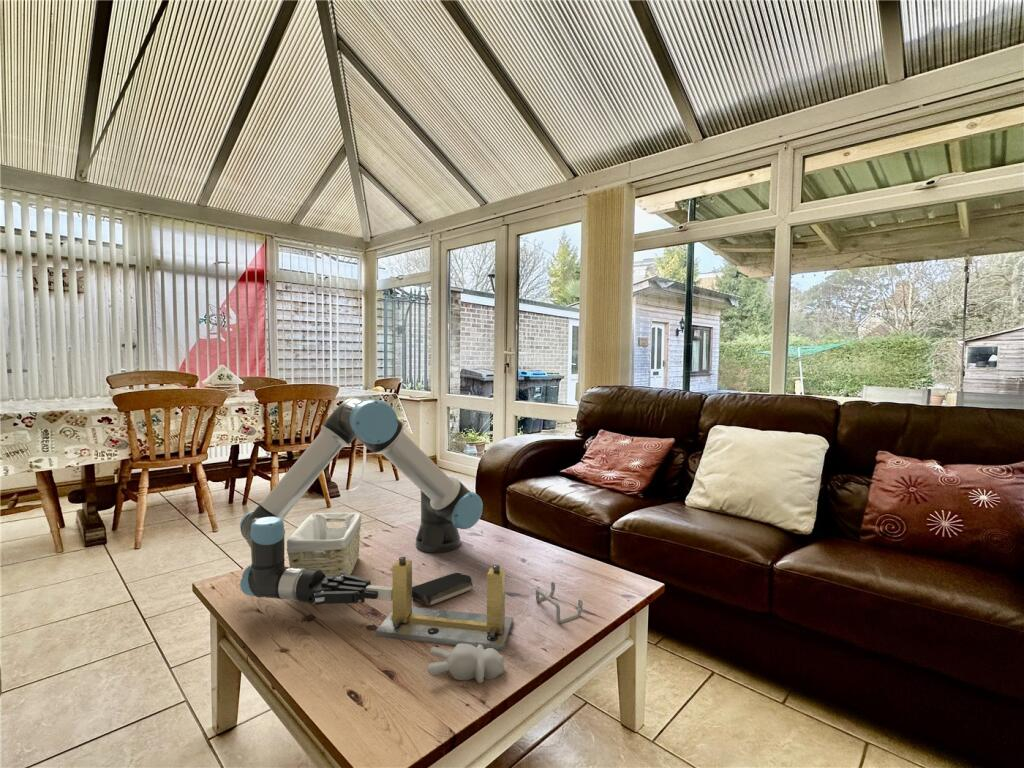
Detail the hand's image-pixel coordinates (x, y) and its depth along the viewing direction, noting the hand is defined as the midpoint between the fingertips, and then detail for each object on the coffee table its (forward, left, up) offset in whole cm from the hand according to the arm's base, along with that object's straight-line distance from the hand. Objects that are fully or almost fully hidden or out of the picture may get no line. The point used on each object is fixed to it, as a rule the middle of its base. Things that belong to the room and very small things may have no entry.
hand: (392, 594), depth 118 cm
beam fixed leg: (0, +13, -6) cm, 15 cm away
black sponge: (-17, +7, -8) cm, 20 cm away
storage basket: (-23, -31, -8) cm, 39 cm away
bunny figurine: (+14, +22, -8) cm, 28 cm away
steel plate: (-1, +13, -7) cm, 15 cm away
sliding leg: (0, +2, -6) cm, 6 cm away
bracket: (-15, +39, -8) cm, 42 cm away
